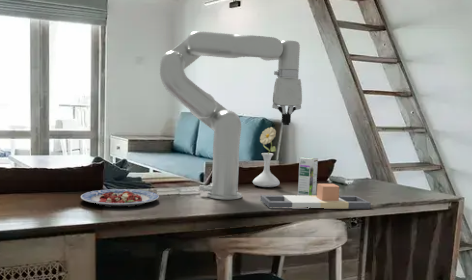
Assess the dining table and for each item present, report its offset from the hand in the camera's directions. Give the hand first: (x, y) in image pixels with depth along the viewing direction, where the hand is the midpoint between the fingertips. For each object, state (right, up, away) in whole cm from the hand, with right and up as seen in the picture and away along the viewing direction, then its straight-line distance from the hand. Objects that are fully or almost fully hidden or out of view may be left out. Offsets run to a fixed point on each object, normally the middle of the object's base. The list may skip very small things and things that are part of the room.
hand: (285, 124), depth 195 cm
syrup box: (+9, -27, +9) cm, 30 cm away
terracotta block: (+14, -27, -9) cm, 31 cm away
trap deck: (+9, -28, -10) cm, 31 cm away
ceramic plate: (-58, -27, -17) cm, 66 cm away
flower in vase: (-6, -25, +24) cm, 35 cm away
